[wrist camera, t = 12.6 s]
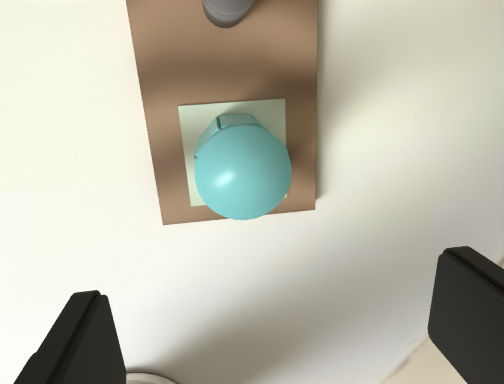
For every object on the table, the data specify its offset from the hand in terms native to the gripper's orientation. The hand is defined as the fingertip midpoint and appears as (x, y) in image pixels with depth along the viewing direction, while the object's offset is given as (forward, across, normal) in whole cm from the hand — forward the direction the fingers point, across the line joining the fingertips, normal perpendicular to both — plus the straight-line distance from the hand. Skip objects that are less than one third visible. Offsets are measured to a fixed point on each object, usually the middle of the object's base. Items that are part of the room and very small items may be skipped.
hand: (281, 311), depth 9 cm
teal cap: (+18, 0, 0) cm, 18 cm away
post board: (+20, 0, -6) cm, 21 cm away
